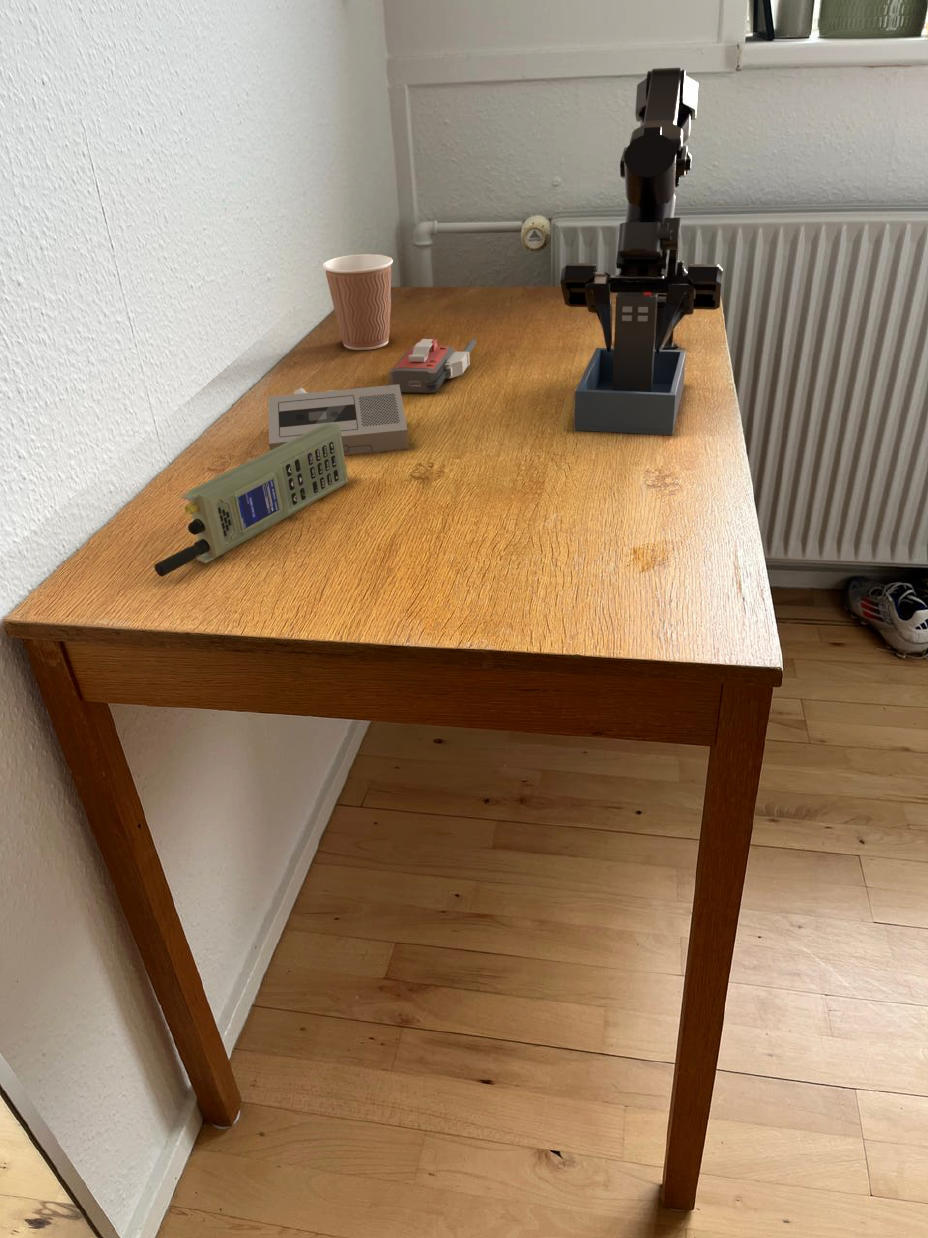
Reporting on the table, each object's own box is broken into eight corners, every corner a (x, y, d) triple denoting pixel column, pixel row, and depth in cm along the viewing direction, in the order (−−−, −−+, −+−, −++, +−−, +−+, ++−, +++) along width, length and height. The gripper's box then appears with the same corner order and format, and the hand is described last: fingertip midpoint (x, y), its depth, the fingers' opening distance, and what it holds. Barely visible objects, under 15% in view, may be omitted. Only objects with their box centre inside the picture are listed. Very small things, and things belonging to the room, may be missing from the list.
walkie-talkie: (450, 397, 124) (481, 350, 140) (448, 364, 121) (480, 319, 138) (385, 396, 126) (423, 349, 142) (382, 363, 123) (421, 319, 140)
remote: (614, 399, 119) (618, 290, 112) (651, 400, 118) (658, 290, 111) (611, 405, 117) (615, 295, 110) (649, 407, 116) (656, 295, 109)
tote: (595, 383, 126) (596, 347, 123) (683, 387, 123) (686, 350, 120) (574, 430, 112) (574, 390, 110) (672, 435, 110) (675, 395, 107)
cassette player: (269, 443, 107) (267, 391, 113) (272, 462, 109) (271, 410, 115) (407, 429, 108) (398, 379, 115) (408, 448, 110) (399, 398, 117)
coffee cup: (412, 338, 147) (406, 256, 141) (372, 357, 140) (363, 272, 133) (360, 330, 152) (351, 251, 145) (318, 348, 145) (307, 266, 138)
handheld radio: (354, 484, 103) (174, 587, 86) (331, 479, 104) (150, 579, 87) (344, 425, 99) (155, 520, 82) (321, 421, 101) (131, 513, 84)
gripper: (563, 190, 110) (545, 313, 107) (730, 188, 105) (716, 317, 102) (574, 247, 120) (557, 360, 118) (726, 247, 116) (713, 366, 113)
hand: (632, 351), depth 112 cm, fingers open, 5 cm apart
